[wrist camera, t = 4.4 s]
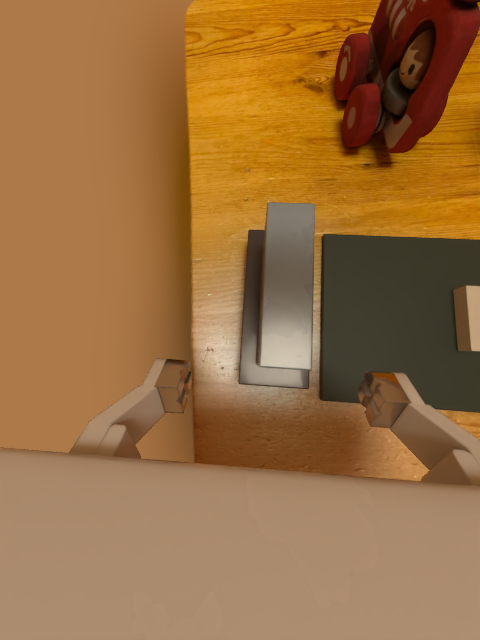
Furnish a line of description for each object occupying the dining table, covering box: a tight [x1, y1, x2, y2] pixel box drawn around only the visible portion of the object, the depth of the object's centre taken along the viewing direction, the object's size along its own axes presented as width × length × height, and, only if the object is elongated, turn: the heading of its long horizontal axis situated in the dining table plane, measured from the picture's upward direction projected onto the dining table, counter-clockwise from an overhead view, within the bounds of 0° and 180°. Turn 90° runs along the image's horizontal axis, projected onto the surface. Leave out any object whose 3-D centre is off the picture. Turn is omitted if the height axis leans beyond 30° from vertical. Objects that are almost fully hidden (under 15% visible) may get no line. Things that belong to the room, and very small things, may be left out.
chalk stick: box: [453, 286, 480, 352], centre depth 18 cm, size 5×1×1 cm, turn 176°
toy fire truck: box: [335, 0, 480, 153], centre depth 18 cm, size 7×12×10 cm, turn 5°
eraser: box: [239, 202, 315, 389], centre depth 16 cm, size 12×5×8 cm, turn 176°
